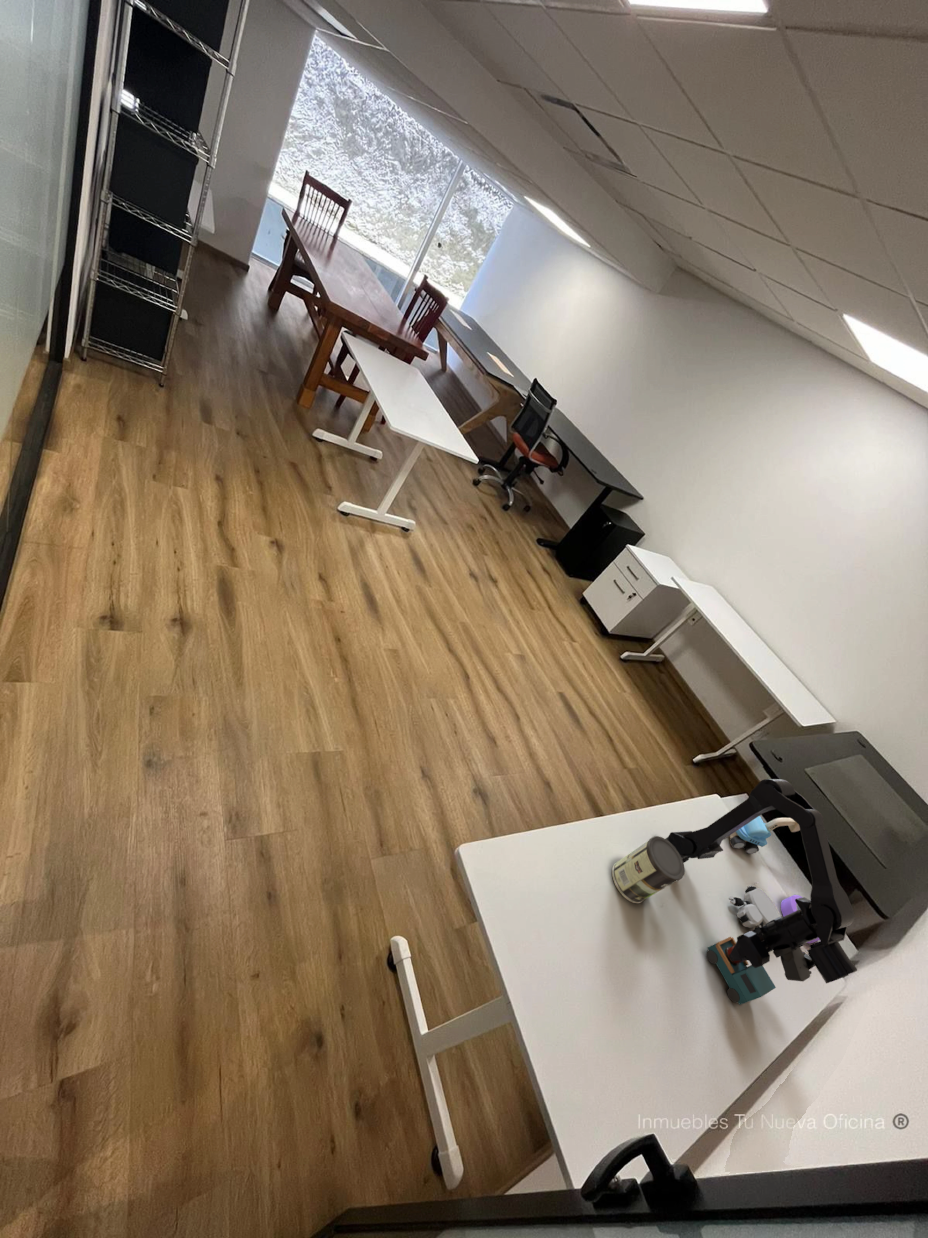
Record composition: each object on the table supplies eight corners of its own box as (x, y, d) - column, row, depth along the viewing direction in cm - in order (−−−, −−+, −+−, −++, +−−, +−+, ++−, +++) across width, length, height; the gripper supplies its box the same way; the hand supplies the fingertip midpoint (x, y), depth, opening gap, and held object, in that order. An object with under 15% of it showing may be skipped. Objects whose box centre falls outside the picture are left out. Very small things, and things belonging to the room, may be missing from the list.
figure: (725, 960, 126) (753, 948, 121) (724, 944, 129) (751, 932, 124) (738, 969, 126) (766, 957, 121) (737, 954, 129) (764, 942, 124)
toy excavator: (766, 861, 167) (813, 836, 157) (727, 847, 162) (772, 820, 152) (755, 835, 173) (799, 810, 164) (717, 821, 169) (760, 794, 159)
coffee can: (651, 890, 135) (691, 866, 127) (633, 912, 127) (674, 888, 119) (623, 854, 139) (660, 829, 131) (604, 872, 131) (642, 847, 124)
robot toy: (749, 949, 138) (779, 931, 147) (762, 943, 136) (791, 926, 144) (719, 900, 145) (748, 886, 154) (731, 894, 143) (760, 880, 151)
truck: (702, 950, 129) (726, 938, 125) (718, 942, 134) (742, 931, 129) (734, 1007, 122) (760, 997, 118) (750, 997, 127) (776, 987, 122)
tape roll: (821, 941, 153) (832, 936, 151) (799, 946, 147) (811, 941, 145) (794, 898, 161) (805, 893, 158) (773, 901, 155) (783, 896, 153)
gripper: (802, 983, 107) (743, 1005, 115) (840, 958, 118) (783, 980, 126) (764, 924, 113) (711, 949, 122) (803, 905, 124) (751, 929, 133)
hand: (740, 953), depth 126 cm, fingers open, 9 cm apart
